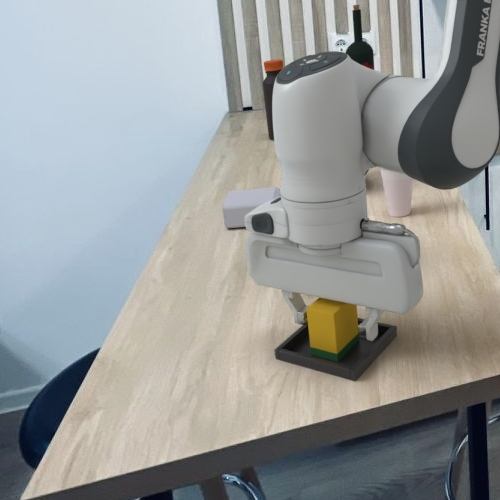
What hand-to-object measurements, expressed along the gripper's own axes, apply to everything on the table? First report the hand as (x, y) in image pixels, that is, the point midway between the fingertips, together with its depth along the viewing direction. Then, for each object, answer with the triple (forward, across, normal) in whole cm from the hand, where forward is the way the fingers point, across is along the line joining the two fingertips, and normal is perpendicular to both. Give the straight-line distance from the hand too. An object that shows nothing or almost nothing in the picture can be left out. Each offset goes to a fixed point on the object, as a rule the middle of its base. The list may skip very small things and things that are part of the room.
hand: (335, 329), depth 74 cm
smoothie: (+3, +12, -43) cm, 45 cm away
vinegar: (+3, +66, -87) cm, 109 cm away
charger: (+3, +33, -34) cm, 47 cm away
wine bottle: (+3, +54, -111) cm, 123 cm away
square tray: (+3, 0, 0) cm, 3 cm away
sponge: (+2, 0, 0) cm, 2 cm away
